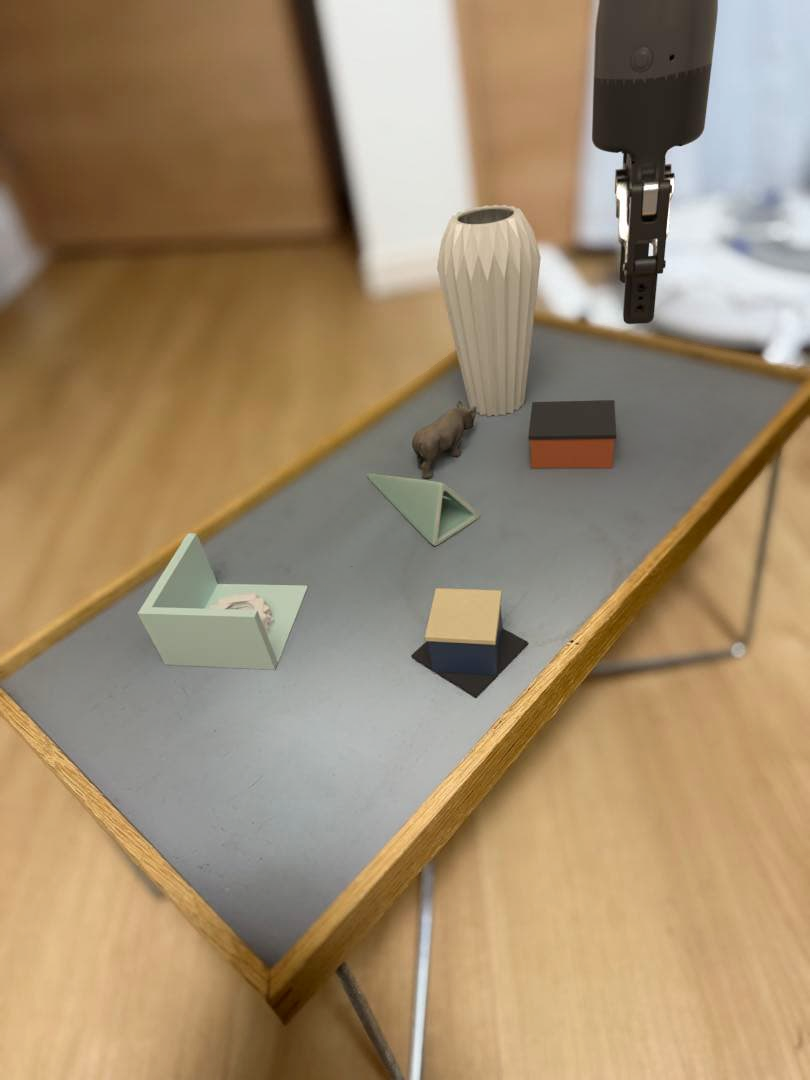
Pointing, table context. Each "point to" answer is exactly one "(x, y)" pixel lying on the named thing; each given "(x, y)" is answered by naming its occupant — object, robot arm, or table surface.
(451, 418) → the rhino figurine
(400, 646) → the table surface
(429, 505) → the planter
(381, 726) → the table surface
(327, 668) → the table surface
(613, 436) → the bottom container
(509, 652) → the mat
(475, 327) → the vase
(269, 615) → the right angle wall
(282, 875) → the table surface
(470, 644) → the top container
